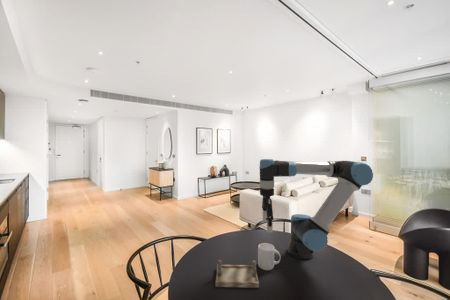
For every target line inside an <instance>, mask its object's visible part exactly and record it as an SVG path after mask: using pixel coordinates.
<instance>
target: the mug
mask: <svg viewBox="0 0 450 300" xmlns="http://www.w3.org/2000/svg"><path fill="white" fill-rule="evenodd" d="M275 254H276V255H278V256H279V259H278V260H277V261H276V260H275ZM281 256H282V255H281V254H280V252H279V251H278V250H277V249H276V248H275V246H274V245H273V244H272V243H268V242H262V243H259V244H258V246H257V265H258V268H260V269H261V270H264V271H272V270H273V269H274V268H275V265H278V264H279V263H280V262H281V258H282V257H281Z"/></svg>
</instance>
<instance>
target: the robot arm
mask: <svg viewBox="0 0 450 300" xmlns="http://www.w3.org/2000/svg"><path fill="white" fill-rule="evenodd" d="M296 175H307V176H308V175H310V176H326V177H328V178H335V179H337V183H336V185H335V186H334V187H333V188H332V190H331V191H330V192H329V195H328V196H327V198H326V199H325V200H324V202H323V203H322V204H321V206H320V208H318V210H317V212H316V213H315V214H314V216H310V215H308V214H301V213H300V214H292V215H291V216H290V240H289V242H288V245H287V253H288V254H289V255H290V256H292V257H294V258H296V259H299V260H311V259H313V257H314V256H315V252H317V251H321V250H323V249H325V248H326V246H327V245H328V240H329V239H328V234H329V233H330V226H331V224H332V223H333V222H334V220H335V219H336V217H338V215H339V213H340V212H341V210H342V209H343V208H344V206H345V205H346V204H347V203H348V201H349V198H351V196H352V195H353V193H354V192H356V191H359V190H360V189H361V188H362V187H363V186H366V185H367V186H368V185H369V184H370V183H372V181H373V178H374V173H373V169H372V167H371V166H370V165H369V164H368V163H365V162H362V161H353V160H352V161H351V160H338V161H337V160H336V161H333V160H331V161H330V160H329V161H326V162H319V161H318V162H315V161H313V162H311V161H309V162H308V161H288V160H287V161H285V160H274V159H272V158H270V159H269V158H263V159H260V160H259V181H258V184H259V187H260V188H259V195H260V196H261V197H262V200H261V201H262V203H261V205H262V206H261V208H262V223H266V233H273V221H274V211H273V202H272V201H273V200H272V198H271V197H273V196H274V195H275V189H274V188H275V177H278V178H279V177H289V178H291V177H295V176H296Z"/></svg>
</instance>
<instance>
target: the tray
mask: <svg viewBox="0 0 450 300" xmlns="http://www.w3.org/2000/svg"><path fill="white" fill-rule="evenodd" d="M222 263H223V261H222V259H218V260H217V264H216V275H215V288H216V287H217V288H250V289H251V288H254V289H255V288H260V281H259V277H258V271H257V261H256V260H252V261H251V265H250V264H248V265H247V264H222Z"/></svg>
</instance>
